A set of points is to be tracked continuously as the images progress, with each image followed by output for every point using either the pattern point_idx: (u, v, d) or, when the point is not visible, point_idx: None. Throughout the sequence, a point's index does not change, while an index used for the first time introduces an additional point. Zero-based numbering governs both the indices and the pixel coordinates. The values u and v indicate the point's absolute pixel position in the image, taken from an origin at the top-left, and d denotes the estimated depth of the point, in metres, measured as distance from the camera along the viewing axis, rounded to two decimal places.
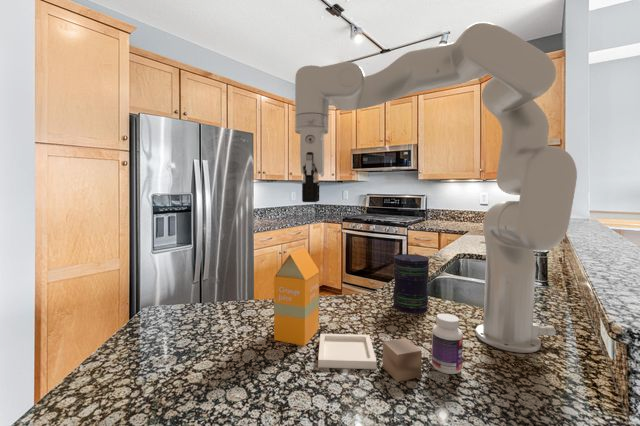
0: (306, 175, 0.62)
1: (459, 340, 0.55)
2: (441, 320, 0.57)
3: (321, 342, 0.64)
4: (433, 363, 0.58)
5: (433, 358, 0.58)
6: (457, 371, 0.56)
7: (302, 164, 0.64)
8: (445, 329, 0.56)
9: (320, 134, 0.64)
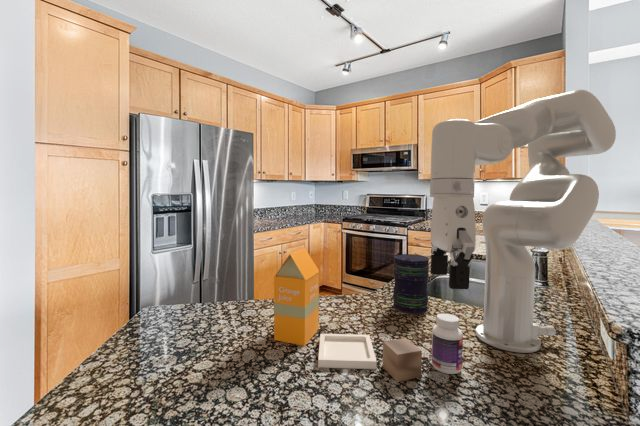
0: (462, 259, 0.50)
1: (459, 340, 0.55)
2: (441, 320, 0.57)
3: (321, 342, 0.64)
4: (433, 363, 0.58)
5: (433, 358, 0.58)
6: (457, 371, 0.56)
7: (451, 242, 0.52)
8: (445, 329, 0.56)
9: (473, 205, 0.52)
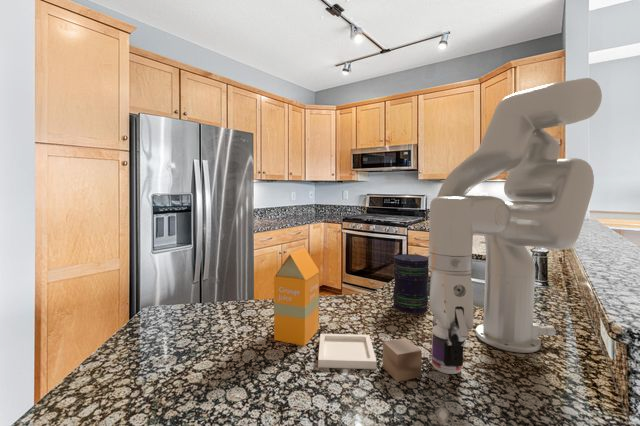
0: None
1: None
2: None
3: (321, 342, 0.64)
4: (433, 363, 0.58)
5: (433, 358, 0.58)
6: (457, 371, 0.56)
7: (449, 320, 0.53)
8: None
9: (471, 283, 0.53)
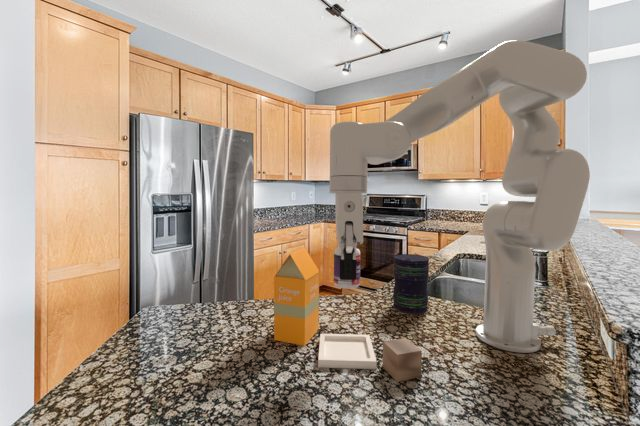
0: (346, 253, 0.56)
1: None
2: None
3: (321, 342, 0.64)
4: (334, 281, 0.62)
5: (334, 276, 0.62)
6: (353, 286, 0.60)
7: (340, 234, 0.57)
8: None
9: (360, 200, 0.57)
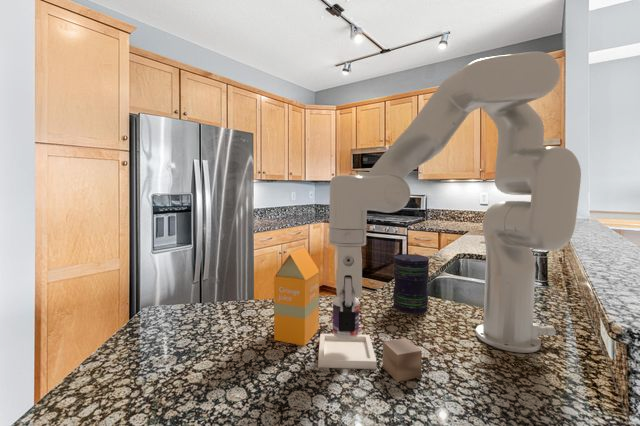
0: (344, 307, 0.57)
1: None
2: None
3: (321, 342, 0.64)
4: None
5: None
6: (351, 336, 0.60)
7: (339, 288, 0.57)
8: None
9: (359, 254, 0.57)
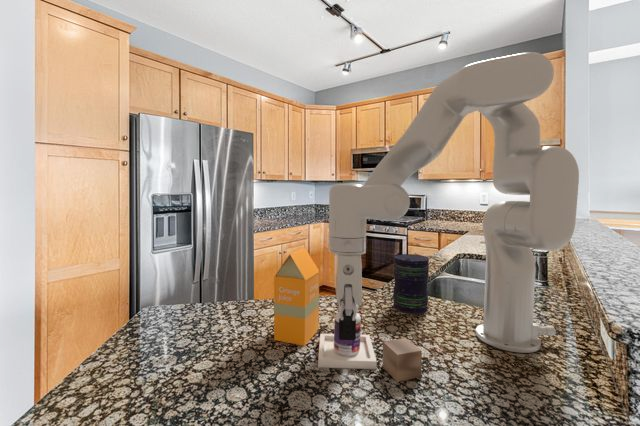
0: (345, 316, 0.56)
1: None
2: None
3: (321, 342, 0.64)
4: (334, 346, 0.62)
5: (334, 341, 0.62)
6: (353, 353, 0.60)
7: (339, 297, 0.57)
8: None
9: (359, 263, 0.57)
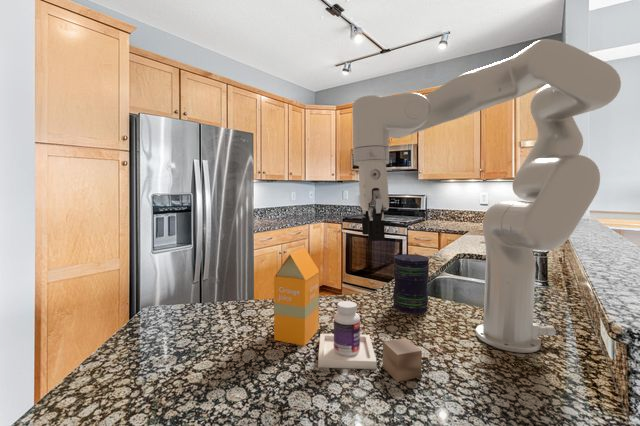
0: (375, 214, 0.58)
1: (354, 325, 0.60)
2: (339, 306, 0.61)
3: (321, 342, 0.64)
4: (334, 346, 0.62)
5: (334, 342, 0.62)
6: (353, 353, 0.60)
7: (367, 201, 0.60)
8: (342, 314, 0.61)
9: (385, 168, 0.61)
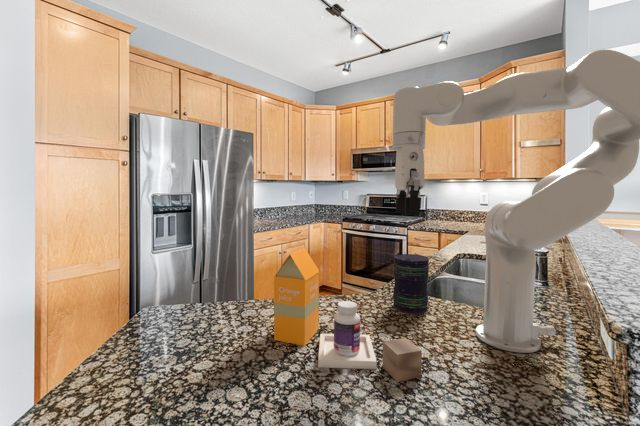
0: (413, 190, 0.66)
1: (354, 325, 0.60)
2: (339, 306, 0.61)
3: (321, 342, 0.64)
4: (334, 346, 0.62)
5: (334, 342, 0.62)
6: (353, 353, 0.60)
7: (406, 179, 0.68)
8: (343, 314, 0.61)
9: (422, 151, 0.69)
